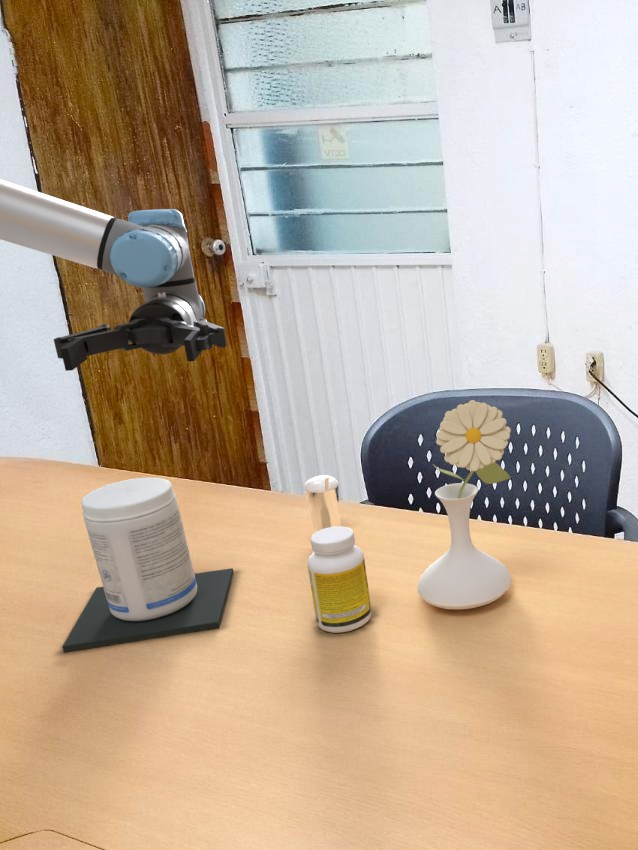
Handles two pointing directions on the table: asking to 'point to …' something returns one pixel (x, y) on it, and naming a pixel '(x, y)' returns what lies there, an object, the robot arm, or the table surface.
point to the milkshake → (323, 501)
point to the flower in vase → (467, 510)
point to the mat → (195, 616)
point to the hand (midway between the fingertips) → (128, 355)
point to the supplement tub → (140, 548)
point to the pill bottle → (338, 580)
